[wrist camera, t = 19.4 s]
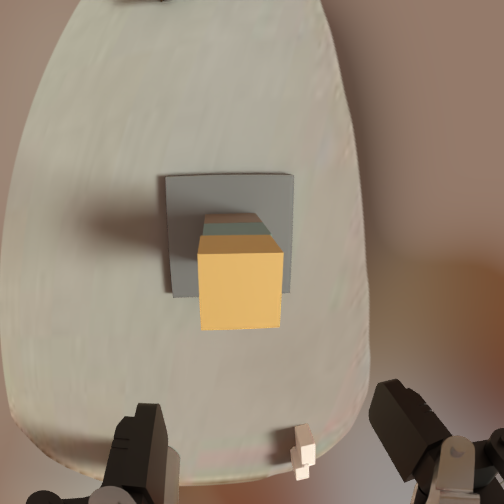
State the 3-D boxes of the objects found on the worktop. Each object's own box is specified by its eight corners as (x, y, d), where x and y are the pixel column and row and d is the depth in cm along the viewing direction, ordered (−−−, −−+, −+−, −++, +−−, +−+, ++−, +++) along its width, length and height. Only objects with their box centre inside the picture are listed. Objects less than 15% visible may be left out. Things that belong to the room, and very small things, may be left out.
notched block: (294, 411, 46) (302, 436, 41) (343, 424, 49) (353, 446, 44) (248, 459, 49) (252, 482, 44) (296, 468, 52) (302, 489, 46)
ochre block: (267, 297, 27) (279, 327, 22) (202, 299, 26) (201, 330, 21) (270, 234, 25) (283, 252, 20) (200, 235, 24) (197, 254, 20)
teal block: (261, 276, 31) (270, 297, 27) (206, 278, 31) (205, 300, 26) (262, 222, 30) (272, 234, 25) (204, 223, 29) (202, 236, 24)
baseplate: (287, 289, 39) (300, 311, 33) (174, 293, 37) (167, 317, 31) (291, 174, 35) (307, 177, 29) (166, 176, 33) (157, 179, 27)
